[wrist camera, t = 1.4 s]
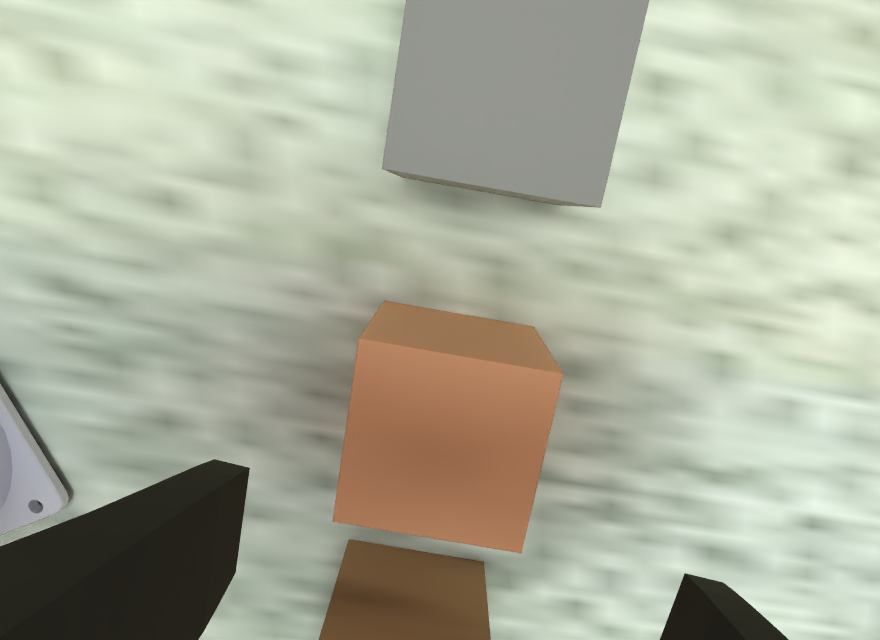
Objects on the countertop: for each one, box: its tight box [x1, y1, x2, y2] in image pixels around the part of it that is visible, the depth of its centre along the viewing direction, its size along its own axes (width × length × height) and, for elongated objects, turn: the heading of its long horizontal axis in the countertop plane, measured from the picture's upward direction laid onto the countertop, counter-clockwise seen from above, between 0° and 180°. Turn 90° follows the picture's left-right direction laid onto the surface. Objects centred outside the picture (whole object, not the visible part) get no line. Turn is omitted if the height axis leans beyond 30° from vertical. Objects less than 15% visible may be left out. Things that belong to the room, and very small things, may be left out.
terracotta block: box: [333, 301, 563, 553], centre depth 16 cm, size 5×5×5 cm
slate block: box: [382, 0, 649, 207], centre depth 14 cm, size 5×5×5 cm
